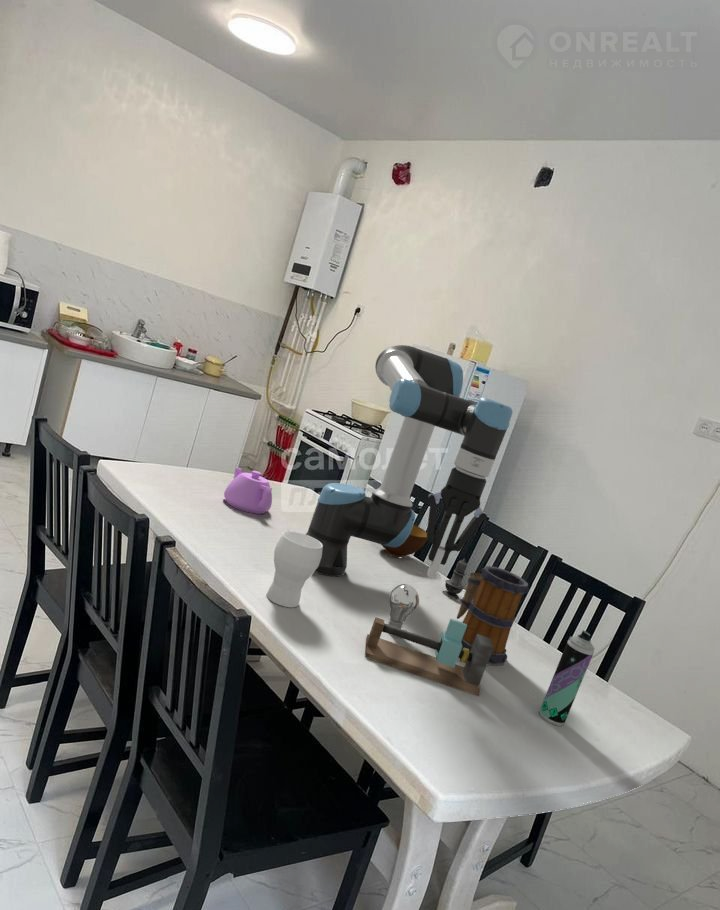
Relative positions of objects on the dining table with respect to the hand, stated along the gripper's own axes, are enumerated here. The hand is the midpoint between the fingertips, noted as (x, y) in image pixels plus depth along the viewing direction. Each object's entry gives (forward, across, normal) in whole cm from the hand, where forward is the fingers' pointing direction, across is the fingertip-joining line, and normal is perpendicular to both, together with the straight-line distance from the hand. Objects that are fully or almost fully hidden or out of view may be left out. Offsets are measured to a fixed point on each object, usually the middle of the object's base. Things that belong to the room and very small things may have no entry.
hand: (430, 575), depth 146 cm
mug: (+20, +20, +22) cm, 35 cm away
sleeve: (+16, +9, -1) cm, 19 cm away
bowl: (+22, 0, +80) cm, 83 cm away
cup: (+20, -28, +10) cm, 36 cm away
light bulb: (+20, -2, +12) cm, 24 cm away
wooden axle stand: (+19, +5, -1) cm, 20 cm away
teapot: (+22, -51, +77) cm, 95 cm away
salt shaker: (+21, +17, +56) cm, 63 cm away
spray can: (+19, +34, -5) cm, 39 cm away
